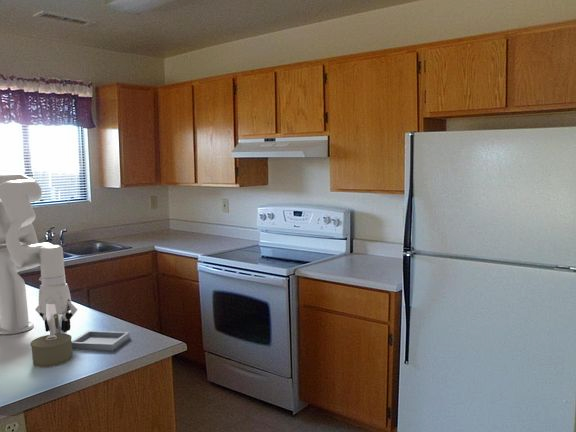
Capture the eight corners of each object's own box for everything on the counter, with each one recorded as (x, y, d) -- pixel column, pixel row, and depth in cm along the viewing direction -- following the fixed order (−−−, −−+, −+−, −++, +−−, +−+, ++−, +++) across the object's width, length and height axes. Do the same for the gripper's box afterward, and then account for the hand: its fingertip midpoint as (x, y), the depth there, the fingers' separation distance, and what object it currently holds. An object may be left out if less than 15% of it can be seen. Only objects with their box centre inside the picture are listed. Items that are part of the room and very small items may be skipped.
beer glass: (61, 346, 178) (58, 304, 177) (43, 345, 180) (40, 303, 178) (73, 339, 185) (70, 298, 183) (56, 338, 187) (53, 298, 185)
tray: (69, 349, 175) (68, 342, 175) (89, 337, 187) (88, 330, 187) (113, 351, 172) (112, 344, 172) (130, 338, 184) (129, 332, 184)
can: (31, 370, 159) (29, 349, 158) (33, 357, 170) (31, 337, 169) (73, 363, 163) (71, 342, 163) (72, 350, 174) (71, 331, 174)
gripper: (24, 283, 178) (29, 333, 180) (69, 283, 175) (74, 335, 177) (38, 277, 185) (42, 326, 187) (82, 278, 182) (86, 327, 184)
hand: (58, 330), depth 182 cm, fingers closed on beer glass, 6 cm apart
